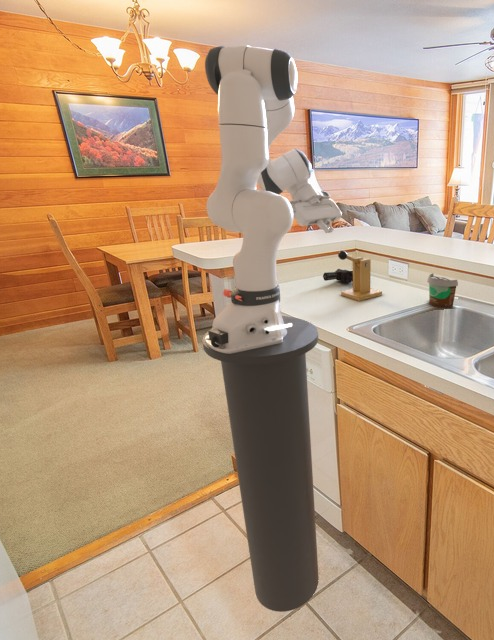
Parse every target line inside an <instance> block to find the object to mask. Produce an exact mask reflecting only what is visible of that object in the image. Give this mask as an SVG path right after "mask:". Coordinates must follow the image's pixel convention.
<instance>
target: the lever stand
mask: <svg viewBox="0 0 494 640" xmlns="http://www.w3.org/2000/svg"><path fill="white" fill-rule="evenodd" d="M353 258H354V259H356V260H358V259H361V260H360V266H357V265H356V264H357V263H356V262H353V261H352V271H353V281H352V288H351V289H346V290H342V291H340V295H341V296H342V297H345V298H348V299H351V300H354V301H357V302H361V301H364V300H368V299H373V298H375V297H379V296H382V295H383V291H382V290H378V289H375V288H373V287H372V288H371V271H372V270H371V268H372V266H371V264H372V261H371V260H372V259H371V258H365V259H364V257H363V256H359V257H353Z"/></svg>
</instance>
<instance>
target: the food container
mask: <svg viewBox="0 0 494 640" xmlns="http://www.w3.org/2000/svg"><path fill="white" fill-rule="evenodd" d="M426 280H427V283H428V287H429V288H428V289H429V290H428V293H429V295H428V298H429V301H428V302H429V305H431V306H433V307H436V308H443V309H444V308H447V309H448V308H453V307H454V301H455V297H456V290H457V287H458V286H459V282H458V279H449V278H447V277H439V276H435V275H434V272H433V273H430V274H429V275H428V277H427V279H426Z"/></svg>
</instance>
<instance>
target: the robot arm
mask: <svg viewBox="0 0 494 640" xmlns="http://www.w3.org/2000/svg"><path fill="white" fill-rule="evenodd" d="M296 66H297V65H296V62H295V59H294V58H293V57H292V55H291V54H290V53H289V52H288V51H285V50H282V49H279V48H274V49H270V48H266V47H257V46H250V45H234V46H233V45H232V46H225V45H220V46H215V47H212V48H210V49H209V50H208V52H207V54H206V55H205V60H204V70H205V76H206V79H207V82H208V84H209V87H210V88H211V90H212V91H213V92H214V93H215V94H216V95H217V96H218V97H217V99H218V100H217V103H218V104H217V114H218V115H217V116H218V130H219V143H220V168H219V175H218V180H217V183H216V186H215V188H214V190H213V191H212V192H211V193H210V195H209V196H208V198H207V200H206V213H207V216H208V218H209V220H210V222H212V223H213V224H214V225H215V226H217V227H218V228H221V229H223V230H225V231H227V232H231V233H238V234H242V238H243V239H242V244H241V248H240V250H239V251H238V252H236V253H235V254H234V256H233V258H232V266H233V267H232V268H233V274H234V283H235V286H234V289H233V290H230V289H228V288H225V289H224V290H223V291H222V296H224V297H226V298H230V302H229V304H227V306H225V308H224V309H222V311H220V312H219V314H217V315H216V316H215V317H214V319H213V321H212V327H211V330H210V329H209V330H207V332H208V333H209V335H208V336H206V337H205V344H206V345H207V346H208V347H210V348H211V349H213V350H215V351H217V352H221V353H226V354H231V353H236V352H241V351H246V350H251V349H255V348H260V347H265V346H270V345H274V344H279V343H282V342H283V338H284V337H285V336H286V335H287V330H286V327H291V326H292V323H290V324H285V325H284V321H283V318H282V316H283V314H282V310H281V309H282V308H281V290H280V285H279V284H278V272H277V256H278V251H279V246H280V243H281V241H282V239H283V238H284V237H285V235H286V234H287V233H289V232H290V230H291V228H292V226H293V223H294V220H295V221H296V223H297V224H298V225H299V226H300V227H309V226H314V225H316V226H317V228H320V229H321V230H323V232H324V233H325V234H330V233H333V231H334V227H333V226H332V223H335V222H339V221H340V219H341V218H342V217H343V215H342V214H343V213H342V211H341V209H340V207H339V206H338V205H337V204H336V202H335V201H334V200H333V199H331V197H332V196H331V194H330V193H329V192H328V191H326V190H325V191H324V190H321V189H319V188H317V187H315V185H314V184H312V183H311V181H310V178H311V176H312V172H313V171H312V170H313V166H312V163H311V161H310V160H309V159H308V157H307V155H306V153H305V152H304V151H302V150H300V149H297V148H293V149H290V150H288V151H287V152H285V153H283V154H281V155H280V156H278V157H276V158H274V159H272V160H271V156H270V147H271V145H272V144H273V143H274V141H275V140H276V139H277V138H278V137H279V136H280V135H281V134H282V133H283V132H284V131H285V130H286V129H287V128H288V127H289V126H290V125H291V123H292V122H293V119H294V116H295V101H294V95H295V94H296V92H297V88H298V79H299V76H298V68H297V67H296ZM257 186H258V187H259V189H257ZM285 191H286V192H287V193H289V194H290V196H291V199H292V200H291V201H290V200H289V199H288V198H286V197H285V196H283V195H281V194H282V193H283V192H285Z"/></svg>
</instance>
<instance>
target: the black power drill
mask: <svg viewBox="0 0 494 640" xmlns="http://www.w3.org/2000/svg"><path fill="white" fill-rule="evenodd" d="M322 278H323V280H324V282H325V281H326V282H327V281H333V280H336V281H338V282H342V283H344V284H350V283H351V282H353V270H348V269H341V268H337V269H336V270H335V271H330V272H329V271H328V272H327V271H326V272H324V273H323V275H322Z"/></svg>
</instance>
